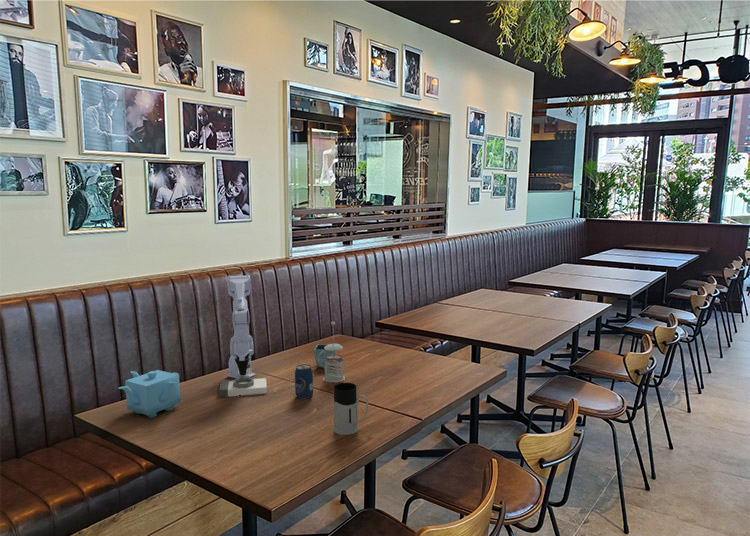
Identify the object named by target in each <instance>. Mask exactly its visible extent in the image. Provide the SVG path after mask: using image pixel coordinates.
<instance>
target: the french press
mask: <svg viewBox="0 0 750 536" xmlns="http://www.w3.org/2000/svg"><path fill="white" fill-rule="evenodd" d="M330 324H331V325H332V336H333V337H332V341H333V343H329V344H326V345H327V346H325V347H324V349H325V350H328V351H335V352H338V351H341V350H343V349H344V347H343V346H342V345H341V344H339V343H335V341H334V340H335V336H334V333H335V331H334V326H335V325H336V322H335V321H331V322H330ZM325 350H323V352H324V351H325ZM321 353H322V351H321V352H320V354H321ZM320 354H319V356H320ZM324 354H325V352H324ZM319 356H318V362H319V365H320V364H321V363H320V361H319ZM330 360H333V361H332V362H329V361H330ZM328 362H329V363H328ZM321 365H322V364H321ZM321 365H320V366H321ZM328 365H329V366H328ZM322 366H323V365H322ZM322 366H321V367H320V368H323V369H324V377H323V378H322V380H323V381H324V382H327V383H332V382H334V383H342V382H343V380H344V381H346V379H345V378H346V376H345V375H344V359H343V356H342V355H341V354H338V353H337V354H336V353H335V354H331V355H327V356H326V360H325V366H324V367H322Z"/></svg>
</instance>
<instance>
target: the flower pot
mask: <svg viewBox="0 0 750 536" xmlns="http://www.w3.org/2000/svg"><path fill="white" fill-rule="evenodd" d="M327 345H328V344H320V343H319V344H316V346H315V347H314V349H313V355H314V360H315V363H316V365H317V366H318V368H323V367H324V366H325V360H326V356H327V355H331V354H336V351H328V350H325V349H324V347H325V346H327ZM323 350H325V351H324V352H325V354H324V352H323ZM321 351H322V353H321V354H320V352H321ZM319 354H320V356H319ZM318 356H319V361H320V363H321V364H322V365H323V366H322V365H321V364H320V365H321V366H322V367H321V366H320V365H319V362H318ZM332 361H334V360H330V361H329V362H332ZM329 362H328V363H329ZM328 366H329V365H328ZM324 368H325V367H324Z"/></svg>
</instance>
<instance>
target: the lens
mask: <svg viewBox="0 0 750 536" xmlns="http://www.w3.org/2000/svg"><path fill="white" fill-rule="evenodd" d="M251 373H252V367H251V368H250V364H249V363H248V365H247V371H246V375H242V376H240V373H239V368H238V378H240V379H247V378H252V377H251Z"/></svg>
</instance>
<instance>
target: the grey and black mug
mask: <svg viewBox="0 0 750 536" xmlns="http://www.w3.org/2000/svg"><path fill="white" fill-rule="evenodd" d="M361 397H363V398H364V400H365V403H366V405H365V406H366V409H365V412H364V415H363V416H362V417H361V418H360V419H359V420H358V406H359V402H360V398H361ZM368 410H369V401H368V398H367V397H366V395H364V394H360V395H358V396H357V384H355V383H352V382H338V383H337V384H334V386H333V425H334V426H333V427H332V431H333V433H335V434H337V435H341V436H343V435H345V436H348V435H354V434H355V433H357V432H359V430H360V429H359V426H358V425H359V424H358V423H360V422H362V420H364V419H365V418H366V416H367V414H368Z"/></svg>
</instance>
